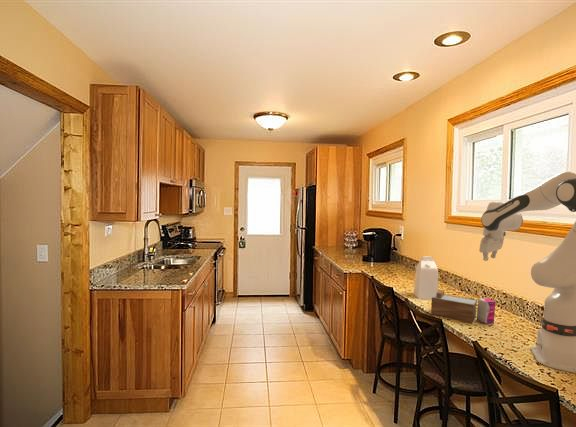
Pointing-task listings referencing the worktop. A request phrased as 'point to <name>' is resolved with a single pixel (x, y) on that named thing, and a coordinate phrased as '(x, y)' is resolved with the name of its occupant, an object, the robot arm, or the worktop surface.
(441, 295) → the lid
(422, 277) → the milk
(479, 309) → the supplement box
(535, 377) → the worktop surface
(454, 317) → the wooden box
